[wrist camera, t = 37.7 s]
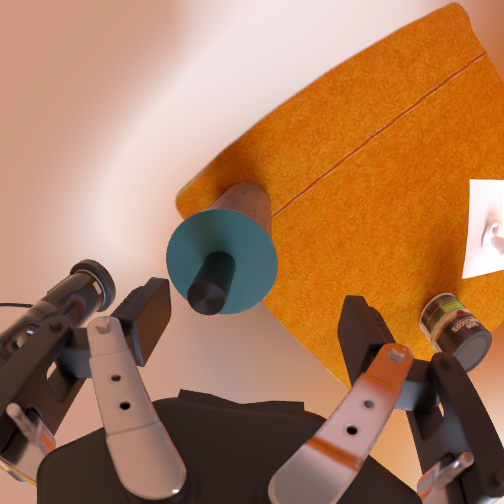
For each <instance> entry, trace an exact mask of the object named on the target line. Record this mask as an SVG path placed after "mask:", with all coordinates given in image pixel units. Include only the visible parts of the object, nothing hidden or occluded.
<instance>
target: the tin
mask: <svg viewBox="0 0 504 504" xmlns="http://www.w3.org/2000/svg"><path fill="white" fill-rule="evenodd" d="M212 208H227V209H233V210H236V211H240V212H242V213H244V214H246V215H248V216H250V217H252V218H253V219H254V220H256V221H257V222H258V223H259V224H260V225H261V226H262V227H264V229H265V230H266V231H267V233H268V234H269V235H270V237H271V239H272V236H271V203H270V199H269V197H268V195H267V193H266V192H265V191H264V190H263V189H262V188H261V187H259V186H258V185H256V184H253V183H248V182H242V183H238V184H236V185H233V186H231V187H230V188H229V189H228V190H227V191H226V192H225V193H224V194H222V195H221V196H220V197H219V198H218V199H217V200H216V201H215V202H214V203H213V204H211V205H210V206H209V207H208V208H207V209H212Z"/></svg>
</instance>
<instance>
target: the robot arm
mask: <svg viewBox="0 0 504 504" xmlns="http://www.w3.org/2000/svg"><path fill="white" fill-rule="evenodd" d="M106 296H107V295H106V289H105V286H104V284H103V282H102V280H101V279H100V278H99V276H98V275H97V274H95V273H94V272H93V271H91V270H89V269H79V270H77V271H76V272H75V273H72V274H70V275H69V276H68V277H67V278H65V279H64V280H62V281H61V282H60V283H58V284H57V285H56V286H54V287H53V288H52V289H51V290H49V291H48V292H47V295H46V296H44V297H43V298H42V299H41V300H40V301H38V302H37V303H36V304H35V305H31V304H17V303H0V306H13V307H26V308H30V309H29V310H27V311H26V312H25V313H24V314H23V315H22V316H21V317H20V318H18V319H17V320H16V321H15V322H14V323H12V324H11V325H10V326H9V327H7V328H6V329H5V330H4V331H2V332H1V333H0V467H1V468H2V469H4V470H5V471H6V472H8V473H9V474H10V475H11V476H12V477H13V478H15V479H16V480H18V481H21V482H26V481H28V482H29V483H31V484H33V485H34V486H36V487H37V504H493V503H494V502H496V501H497V500H499V499H500V498H502V497H503V496H504V448H503V446H502V443H501V441H500V439H499V436H498V434H497V432H496V430H495V427H494V425H493V423H492V421H491V419H490V417H489V415H488V413H487V411H486V409H485V407H484V405H483V403H482V401H481V399H480V397H479V395H478V393H477V391H476V389H475V388H474V386H473V384H472V382H471V381H470V379H469V377H468V375H467V373H466V372H465V370H464V368H463V367H462V365H461V363H460V362H459V360H458V359H457V358H456V357H455V356H453V355H451V354H449V353H446V352H437V353H435V354H434V355H433V357H432V359H431V361H424V360H418V359H414V355H413V353H412V352H411V350H410V349H409V348H407V347H406V346H404V345H402V344H398V343H396V342H395V340H394V338H393V336H392V334H391V332H390V331H389V329H388V327H387V325H386V323H385V321H384V320H383V318H382V316H381V314H380V313H379V312H378V311H377V310H375V309H374V308H373V307H369V306H368V304H367V303H366V301H365V299H364V297H363V296H353V295H347V296H346V297H345V300H344V304H343V308H342V312H341V316H340V320H339V324H338V339H339V342H340V346H341V349H342V353H343V356H344V360H345V364H346V367H347V371H348V375H349V378H350V382H351V386H352V388H351V389H350V391H349V392H348V394H347V395H346V396H345V398H344V399H343V400H342V402H341V403H340V404H339V405H338V407H337V408H336V409H335V411H334V412H333V413H332V415H331V416H330V417H329V418H328V419H325V418H324V417H322V416H320V415H317V414H315V413H312V412H308V411H304V402H292V401H291V402H290V401H266V402H257V403H248V404H239V403H235V402H232V401H229V400H226V399H223V398H220V397H217V396H214V395H211V394H207V393H200V392H194V391H188V390H183V389H181V390H180V392H179V395H178V397H173V398H165V399H160V400H156V401H153V402H151V400H150V397H149V395H148V393H147V391H146V388H145V386H144V383H143V381H142V378H141V376H140V373H139V371H138V368H137V366H140V367H144V366H145V364H146V362H147V360H148V358H149V357H150V355H151V353H152V351H153V350H154V348H155V346H156V344H157V342H158V341H159V339H160V337H161V335H162V333H163V331H164V330H165V328H166V326H167V324H168V323H169V321H170V317H171V298H170V287H169V281H168V279H163V278H155V277H152V278H151V279H150V280H149V281H148V282H147V283H146V284H145V286H140V287H138V288H136V289H134V290H132V291H131V293H130V294H129V295H128V296H127V298H125V299H124V300H123V303H121V304H120V305H119V306H118V307H117V308H116V309H115V311H114V312H113V313H112V314H111V315H110V316H103V317H98V318H96V319H94V320H92V321H91V322H90V323H89V324H88V326H87V328H81V327H82V326H83V325H84V324H85V323H86V322H87V321H88V320H89V318H90V317H91V316H92V315H93V314H94V313H95V312H96V311H97V310H98V309H99V308H100V307H101V306H102V305H103V304H104V303H105V301H106ZM53 362H55V364H56V366H57V367H56V369H55V370H54V371H53V373H52V374H51V375H50V377H49V378H48V380H47V371H48V368H49V367H50V366H51V365H52V363H53ZM87 378H92V379H93V385H94V389H95V393H96V398H97V403H98V407H99V411H100V415H101V418H102V422H103V426H104V427H102V428H100V429H98V430H96V431H94V432H92V433H90V434H87V435H86V436H83V437H81V438H79V439H77V440H74V441H72V442H70V443H68V444H65V445H63V446H61V447H58V448H57V449H55V446H56V442H55V438H54V435H55V433H56V431H57V429H58V428H59V426H60V424H61V422H62V420H63V418H64V417H65V415H66V413H67V411H68V409H69V408H70V406H71V404H72V402H73V401H74V399H75V397H76V396H77V394H78V392H79V390H80V389H81V387H82V385H83V384H84V382H85V380H86V379H87ZM440 402H441V405H442V407H443V410H444V417H443V416H442V414H441V411H440V409H439V406H438V405H439V404H440ZM394 408H395V409H402V410H405V411H406V414H407V417H408V421H409V424H410V428H411V431H412V434H413V438H414V442H415V446H416V450H417V454H418V457H419V462H420V466H421V470H422V474H423V476H422V477H421V478H420V479H419V481H418V484H417V493H416V492H415V491H414V490H412V488H410V487H409V486H408V485H406V484H405V483H404V482H402V481H401V480H400V479H399V478H397V477H396V476H395V475H393V474H392V473H391V472H390V471H388V470H387V469H386V468H385V467H383V466H382V465H381V464H380V463H378V462H377V461H376V460H375V459H374V458H372V457H371V456H370V455H369V453H370V451H371V450H372V447H373V446H374V444H375V443H376V441H377V439H378V437H379V436H380V433H381V432H382V430H383V428H384V426H385V425H386V423H387V421H388V419H389V417H390V415H391V413H392V411H393V409H394Z"/></svg>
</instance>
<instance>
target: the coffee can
mask: <svg viewBox="0 0 504 504" xmlns="http://www.w3.org/2000/svg"><path fill="white" fill-rule="evenodd" d="M419 326H420V329H421V330H422V332H423V333H424V334H425V336H426V337H427V339H428V340H429V342H430V343H431V345H432V346H433V348H434V349H435V351H436V352H446V353H449V354H451V355H453V356H455V357H456V358H457V359H458V360H459V362H460V363H461V365H462V367H463V368H464V370H465V372H466V373H468V372H470V371H471V370H472V369H474V368H475V367H476V366H477V365H478V364H479V363H480V362H481V361H482V359H483V358H484V357H485V356H486V354H487V352H488V350H489V348H490V346H491V342H492V335H491V333H490V332H489V331H488V330H487V329H485V328H484V326H483V325H482V324H481V323H480V322H479V321H478V320H477V319H476V318H475V317H474V316H473V315H472V314H471V313H470V312H469V311H468V310H467V308H466V307H465V306H464V305H463V304H462V303H461V302H460V301H459V300H458V299H457V298H456V297H455V296H454V295H453V294H451V293H441V294H439V295H437V296H435V297H434V298H432V299H431V300H430V301H429V302H428V303H427V304H426V306H425V307H424V309H423V310H422V312H421V315H420V319H419Z"/></svg>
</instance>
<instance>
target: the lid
mask: <svg viewBox="0 0 504 504" xmlns="http://www.w3.org/2000/svg"><path fill="white" fill-rule="evenodd" d="M166 263H167V269H168V273H169V276H170V278H171V281H172V283H173V284H174V286H175V288H176V289H177V290H178V292H179V293H180V294H181V295H182V296H183V297H184V298H185V299H186V300H187V301H188V302H189V304H190V306H191V307H192V308H193V309H194V310H195V311H196V312H198V313H200V314H203V315H215V314H234V313H240V312H243V311H246V310H248V309H250V308H252V307H254V306H256V305H257V304H259V303H260V302H261V301H262V300H263V299H264V298H265V297H266V296H267V295H268V293H269V292H270V291H271V289H272V287H273V285H274V283H275V280H276V276H277V271H278V260H277V253H276V249H275V246H274V243H273V241H272V239H271V237H270V235H269V234H268V233H267V231H266V230H265V229H264V227H262V226H261V225H260V224H259V223H258V222H257V221H256V220H254V219H253V218H252V217H250V216H248V215H246V214H244V213H242V212H240V211H236V210H233V209H227V208H212V209H206V210H203V211H200V212H197V213H195V214H193V215H192V216H190V217H188V218H187V219H186V220H185V221H183V222H182V223H181V224H180V225H179V226H178V227H177V229H176V230H175V231H174V233H173V234H172V236H171V239H170V241H169V244H168V247H167V253H166Z"/></svg>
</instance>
